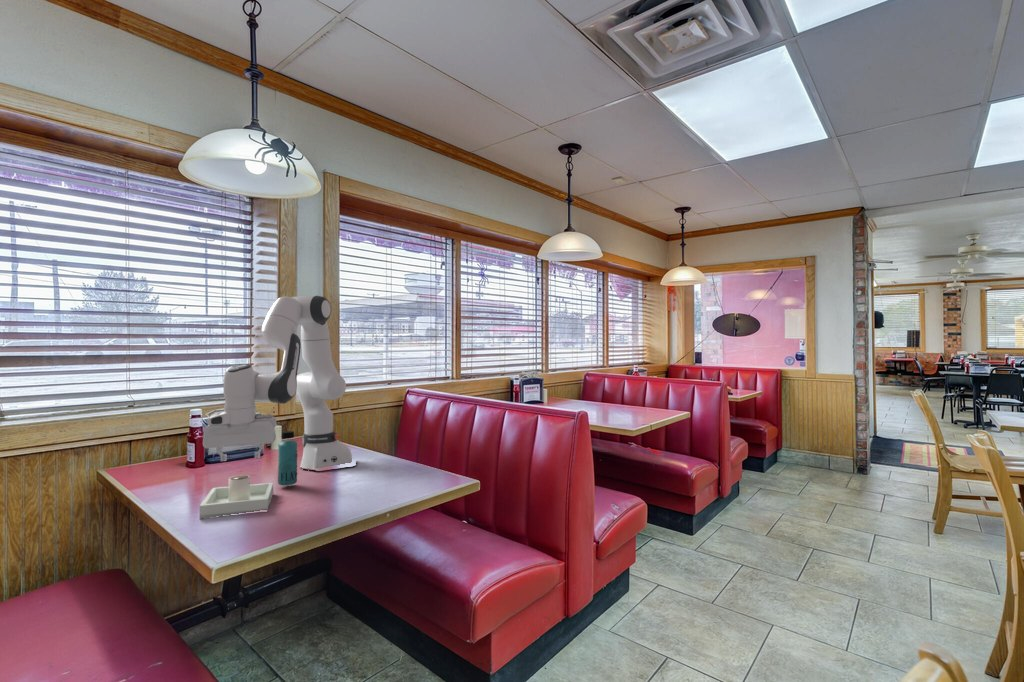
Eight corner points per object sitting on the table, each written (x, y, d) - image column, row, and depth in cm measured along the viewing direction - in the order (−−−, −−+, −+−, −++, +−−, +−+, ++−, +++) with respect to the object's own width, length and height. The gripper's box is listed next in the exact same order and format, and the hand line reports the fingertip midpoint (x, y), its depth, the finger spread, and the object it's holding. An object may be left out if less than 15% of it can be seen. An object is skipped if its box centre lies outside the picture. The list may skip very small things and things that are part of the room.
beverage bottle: (277, 491, 171) (278, 433, 170) (277, 485, 177) (277, 430, 176) (298, 488, 174) (298, 432, 173) (296, 483, 180) (297, 429, 179)
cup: (251, 498, 159) (251, 474, 159) (248, 504, 154) (248, 479, 154) (230, 500, 157) (230, 475, 157) (226, 506, 152) (226, 481, 152)
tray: (273, 494, 167) (273, 482, 167) (267, 512, 150) (267, 499, 150) (212, 500, 161) (212, 487, 161) (199, 519, 144) (199, 505, 144)
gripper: (277, 412, 162) (277, 453, 162) (205, 416, 155) (206, 459, 155) (275, 415, 156) (275, 458, 157) (200, 420, 149) (201, 465, 149)
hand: (240, 459), depth 156 cm, fingers open, 8 cm apart
